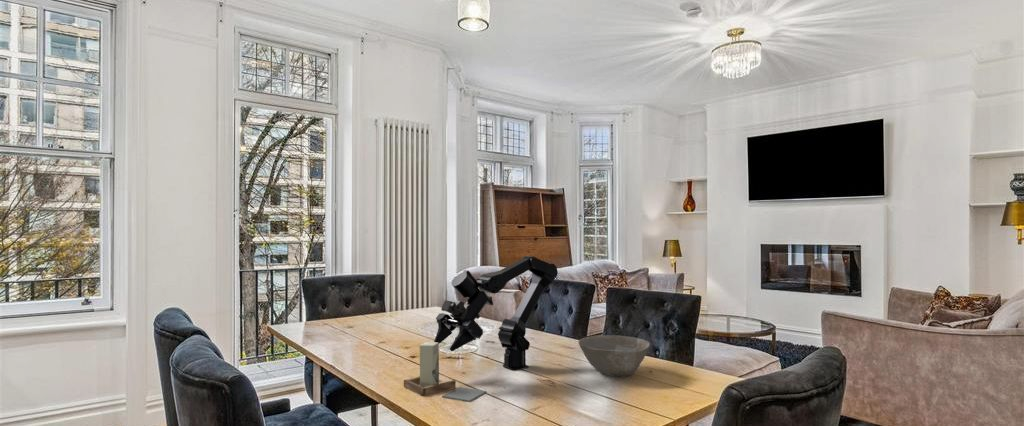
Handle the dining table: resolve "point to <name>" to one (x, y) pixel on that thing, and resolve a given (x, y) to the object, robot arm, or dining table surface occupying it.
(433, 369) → the box
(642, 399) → the dining table surface
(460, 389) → the coaster
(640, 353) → the ceramic bowl
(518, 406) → the dining table surface
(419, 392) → the cradle
